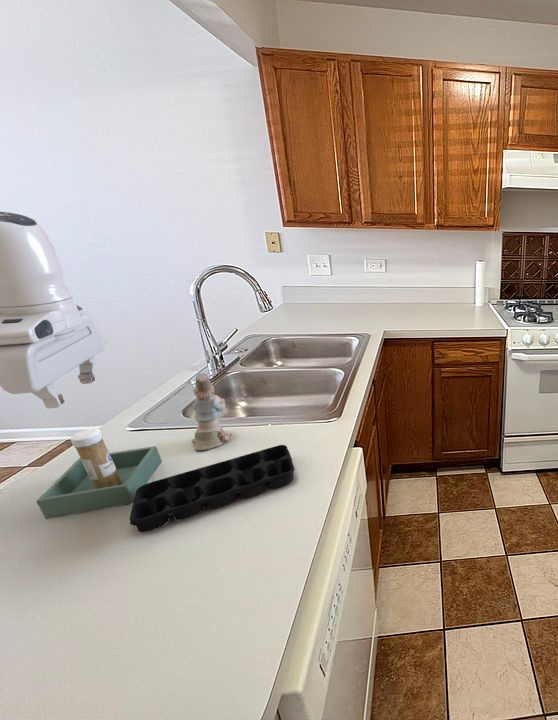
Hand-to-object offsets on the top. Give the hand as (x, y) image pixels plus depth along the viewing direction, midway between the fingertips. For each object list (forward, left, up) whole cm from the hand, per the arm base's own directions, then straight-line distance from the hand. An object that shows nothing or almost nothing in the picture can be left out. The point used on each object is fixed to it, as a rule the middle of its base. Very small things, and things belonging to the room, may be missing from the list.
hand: (73, 393), depth 70 cm
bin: (-7, +10, -27) cm, 30 cm away
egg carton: (+17, +1, -27) cm, 32 cm away
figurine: (+10, +23, -27) cm, 37 cm away
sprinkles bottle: (-7, +10, -27) cm, 30 cm away
